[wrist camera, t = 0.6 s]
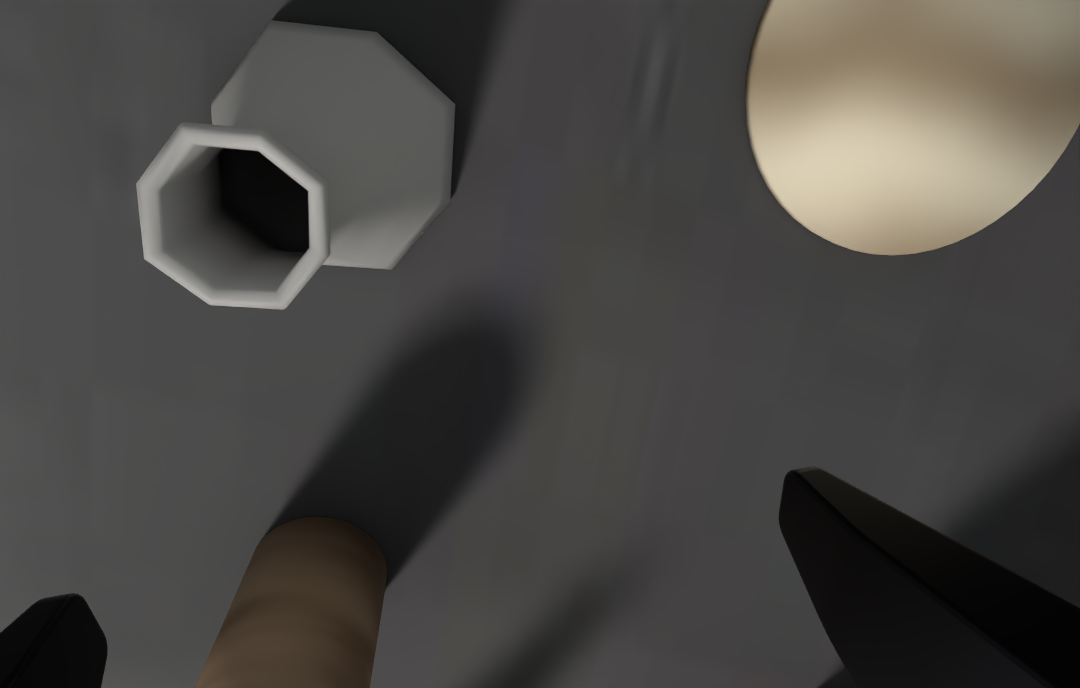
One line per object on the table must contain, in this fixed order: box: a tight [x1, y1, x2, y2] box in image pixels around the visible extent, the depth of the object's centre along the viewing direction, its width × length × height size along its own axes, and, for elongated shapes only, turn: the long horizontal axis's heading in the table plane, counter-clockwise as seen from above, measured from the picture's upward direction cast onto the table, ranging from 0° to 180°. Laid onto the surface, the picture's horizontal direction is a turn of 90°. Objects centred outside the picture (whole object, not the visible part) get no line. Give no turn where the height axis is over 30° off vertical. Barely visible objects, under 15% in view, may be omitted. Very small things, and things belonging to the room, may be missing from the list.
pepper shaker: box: [195, 517, 387, 688], centre depth 22 cm, size 5×5×10 cm
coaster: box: [745, 0, 1080, 255], centre depth 21 cm, size 11×11×1 cm
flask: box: [136, 20, 455, 309], centre depth 16 cm, size 7×7×10 cm
